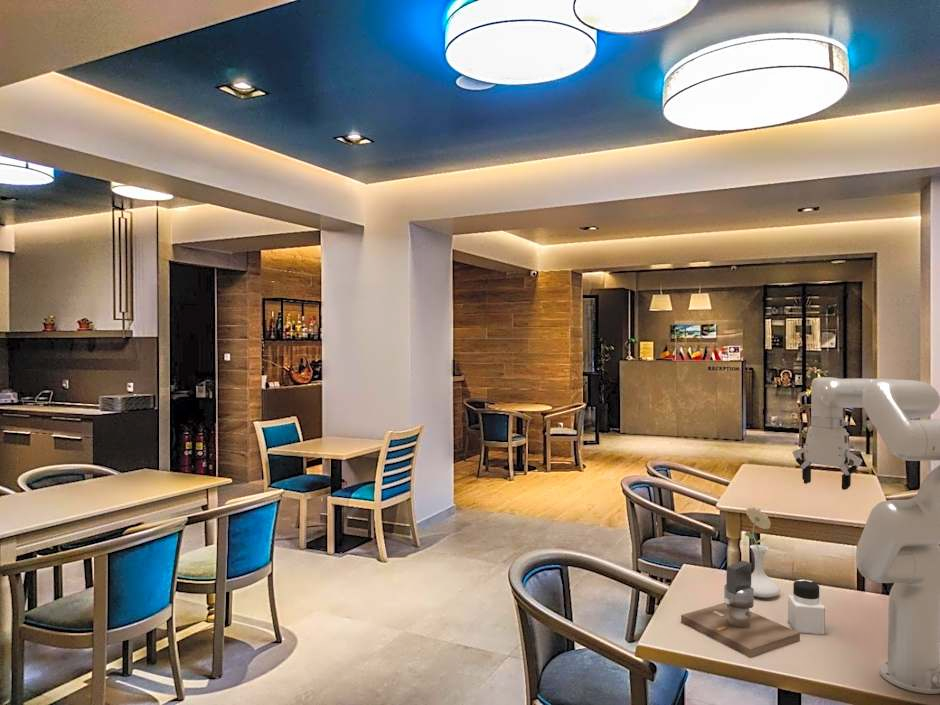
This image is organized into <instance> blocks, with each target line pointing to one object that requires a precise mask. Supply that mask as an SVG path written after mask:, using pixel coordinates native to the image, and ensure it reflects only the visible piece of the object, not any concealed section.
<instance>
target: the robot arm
mask: <svg viewBox="0 0 940 705" xmlns="http://www.w3.org/2000/svg"><path fill="white" fill-rule="evenodd" d="M810 393H811V397H810V398H811V403H810V404H811V405H810V406H811V407H810V410H811V411H810V414H811V415H810V426H808V429H807V432H806V437H805V445H804V447H801V448H799V449H796V450H793V451H792V455H793V458H794V459H795V462H796V463H797V464H798V465H799V466H800V469H801V470H802V472H801V473H802V475H801V476H802V478H801V479H802V480H803V484H805V485H806V484H809V483H811V481H812V468H811V467H810V466H811V465H812V464H814V465H821V466H828V467H835V468H838V467H839V469H840V470H841V471H842V472H843V474H842V475H841V490H844V491H846V490H848V489H849V488H850V487H851V484H852V482H851V478H852V474H853V473H854V472H855V471H857V470H858V469H859V467H860V466H861V464H862V462H863V459H862V458H860V457H859V456H857V455H855V454H854V453H852V452H850V445H849V438H848V433H847V428H843V427H845V426H847V427H848V426H849V421H848V420H845V419H844V417H843V416H844V415H843V413H844V411H843V410H844V409H847V408H850V409H851V408H861V409H862V408H863V410H864V412H865V413H866V415H867V417H868V418H869V421H870V422H871V424H872V425H873V427H874V429H875V430H876V431H877V433H878V434H879V436H880V437H881V439H882V440H883V443H884V444H885V445H886V447H887V448H888V449H889V452H891V453H892V454H893V455H894V456H896V457H897V458H898V459H900V460H903V461H908V462H909V461H912V462H913V461H914V462H918V461H919V462H922V461H924V462H927V461H928V462H929V461H940V418H939V419H938V418H934V419H933V418H931V419H929V418H928V419H923V418H927V417H929V416H931V415H933V414H934V413H935V412H936V411H937V410H938V409H939V407H940V394H939V392H938V390H937V389H936V388H935V387H934V386H932V385H930V384H929V383H927V382H924V381H920V380H915V379H913V380H912V379H895V378H894V379H893V378H839V377H833V376H832V377H830V376H829V377H828V376H825V377H824V376H819V377H815V378H813V379H812V381H811V392H810ZM803 453H804V459H803V458H802V457H801V454H803ZM850 460H851V461H853V464H852V465H851V466H849V465H848V464H849V463H850ZM856 547H857V548H856V550H855V564H856V567H857V570H858V572H859V573H860V575H861V576H862V577H864V578H865V580H868V581H870V582H873V583H880V584H893V585H892V587H891V588H890V591H889V595H888V616H887V617H888V622H887V625H888V627H887V628H888V629H887V630H888V632H887V633H888V634H887V661H884V662H882V663H881V664H880V665H879V673H880V676H882V678H883V679H884V680H885V681H887V682H889V683H890V684H892V685H894V686H896V687H899V688H900V689H904V690H907V691H909V692H914V693H920V694H928V695H937V694H940V464H939V465H937V466H935V468H934V469H933V470H931V471H930V472H929V473H928V474H927V475H926V476H925V477H924V478H923V480H922V481H921V483H920V487H919V489H918V490H917V493H916V494H915V495H914V497H912V498H908V499H889V500H883V501H880V502H878V503H877V504H876V505H875V506H874V507H872V509H871V510H870V513H869V515H868V518H867V520H866V523H865V526H864V527H863V530H862V532H861V535H860V539H859V540H858V543H857V546H856Z"/></svg>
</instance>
